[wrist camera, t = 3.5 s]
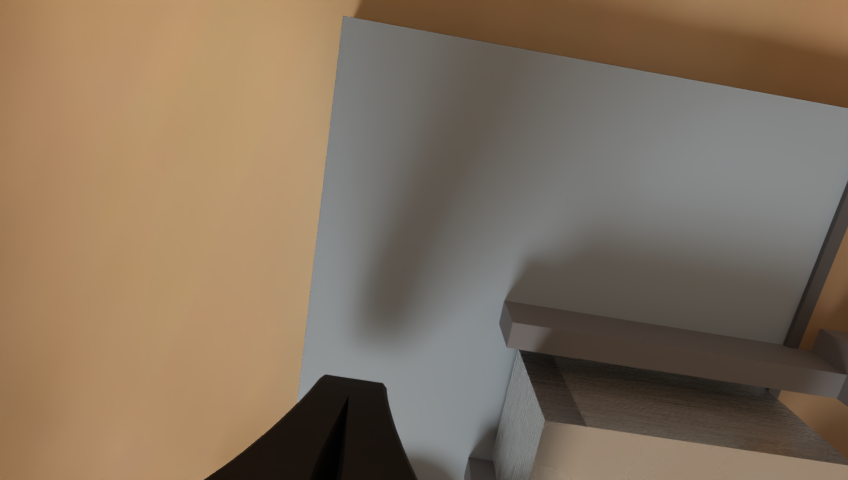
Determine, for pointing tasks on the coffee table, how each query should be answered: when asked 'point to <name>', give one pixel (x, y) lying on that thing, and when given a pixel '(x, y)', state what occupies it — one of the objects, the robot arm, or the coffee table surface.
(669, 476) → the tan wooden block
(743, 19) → the coffee table surface
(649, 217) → the door board
